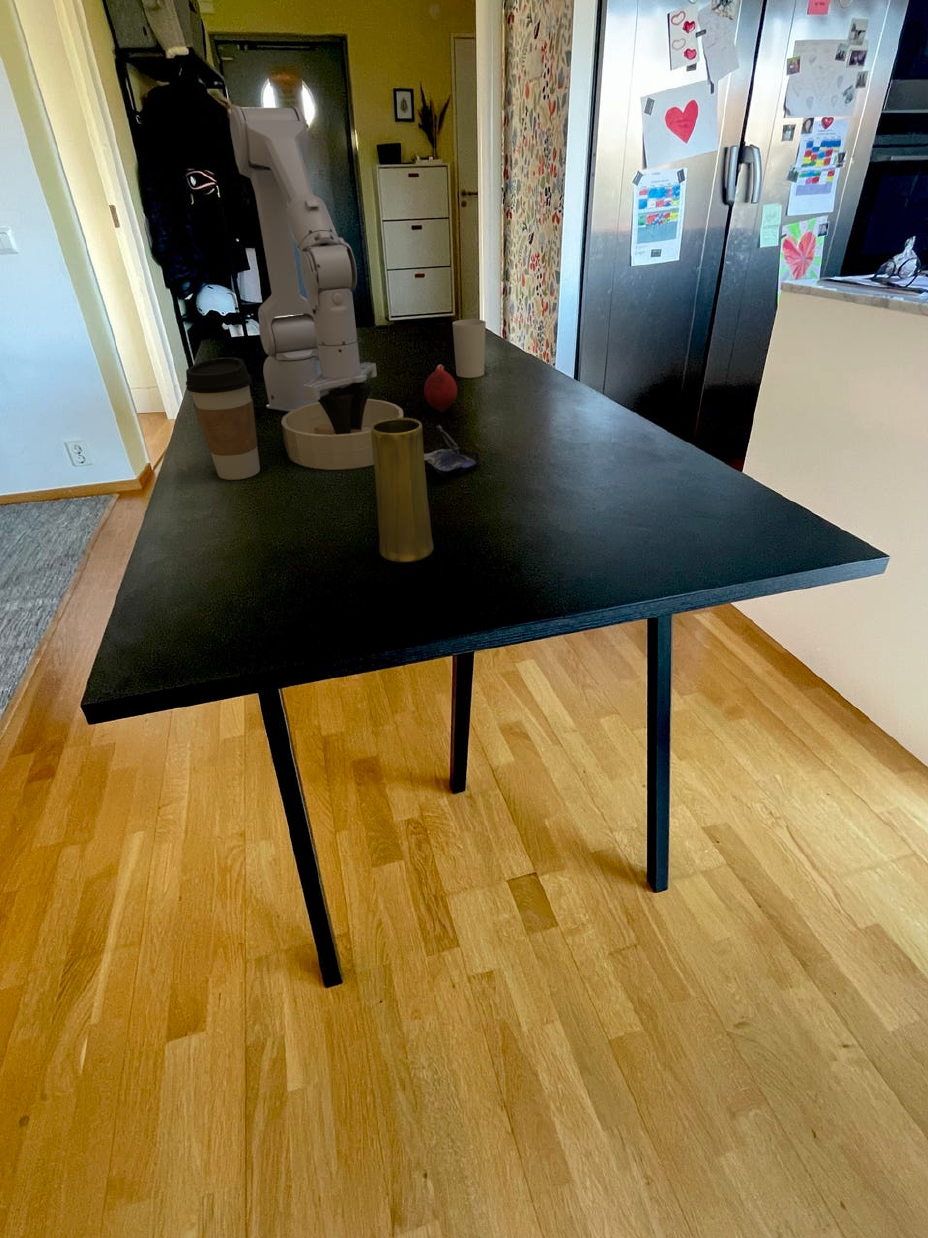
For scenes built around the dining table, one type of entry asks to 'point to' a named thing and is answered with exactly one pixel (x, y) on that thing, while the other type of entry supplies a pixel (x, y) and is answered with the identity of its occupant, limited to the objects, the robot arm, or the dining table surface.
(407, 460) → the vase
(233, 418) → the coffee cup
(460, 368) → the white paper cup
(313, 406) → the bowl
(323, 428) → the tan wooden bar
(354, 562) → the dining table surface
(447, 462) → the dark piece
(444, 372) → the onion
